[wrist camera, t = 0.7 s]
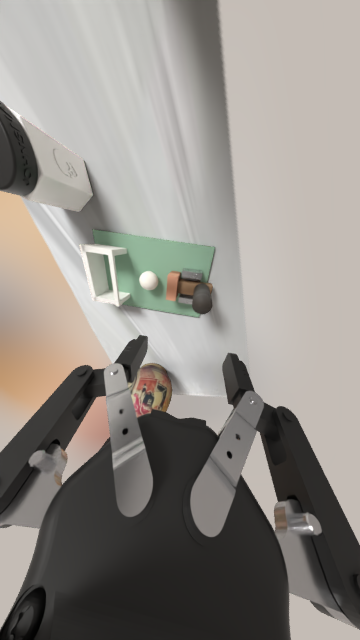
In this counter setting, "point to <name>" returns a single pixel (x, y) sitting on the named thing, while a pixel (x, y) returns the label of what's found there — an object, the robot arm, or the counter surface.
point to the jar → (40, 165)
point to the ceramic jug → (150, 390)
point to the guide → (193, 276)
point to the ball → (148, 280)
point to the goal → (102, 272)
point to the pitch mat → (153, 268)
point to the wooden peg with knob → (190, 291)
